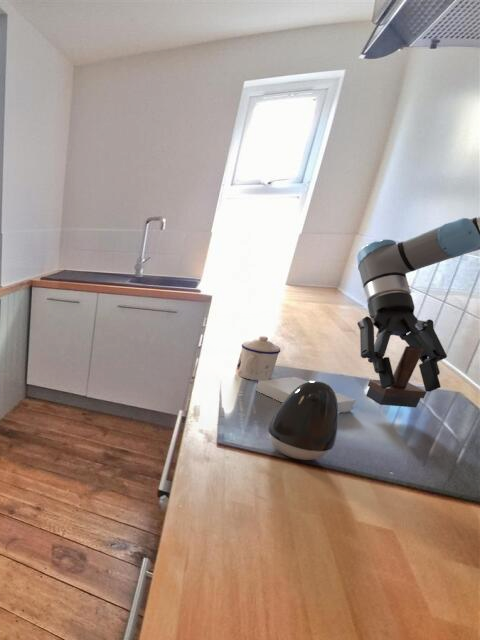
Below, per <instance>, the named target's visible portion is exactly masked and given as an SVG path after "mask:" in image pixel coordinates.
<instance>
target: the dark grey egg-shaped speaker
mask: <svg viewBox="0 0 480 640" xmlns="http://www.w3.org/2000/svg"><path fill="white" fill-rule="evenodd" d="M334 392H335V391H334V389H333V388H332V387H331V386H330V385H329V384H327V383H326V382H323V381H319V380H309V381H308V382H305V383H303V384H301V385H300V386H298V387H297V388H296V389H295V390H293V391H292V392H291V393H290V394H289V396H288V397H287V398H286V399H285V401H284V402H283V403H280V406H279V407H278V408H277V410H276V412H275V414H274V415H273V417H272V419H271V420H270V422H269V425H268V429H267V432H268V436H269V441H270V443H271V445H272V447H273V448H274V449H275V450H276V451H277V452H279V453H280V454H282V455H284V456H286V457H288V458H291V459H295V460H300V461H313V460H317V459H320V458H322V457H324V456H325V455H327V453H328V452H329V451H330V450H332V449H333V448H334V447H335V443H336V441H337V436H338V428H339V413H338V402H337V398H336V395H335V393H334Z"/></svg>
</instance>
